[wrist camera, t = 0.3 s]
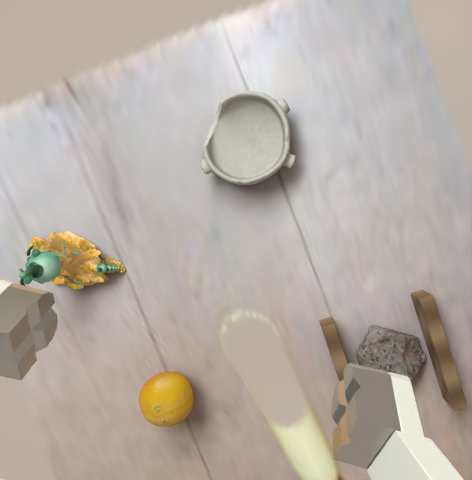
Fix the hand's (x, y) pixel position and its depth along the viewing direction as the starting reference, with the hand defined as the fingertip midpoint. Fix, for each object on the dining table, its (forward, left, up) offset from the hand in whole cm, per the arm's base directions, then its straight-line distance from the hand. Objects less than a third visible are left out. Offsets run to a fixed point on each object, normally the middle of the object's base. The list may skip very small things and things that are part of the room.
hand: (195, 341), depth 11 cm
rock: (-26, -13, -54) cm, 61 cm away
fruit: (-22, +24, -53) cm, 62 cm away
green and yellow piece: (+4, +33, -53) cm, 63 cm away
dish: (+13, -2, -54) cm, 55 cm away
